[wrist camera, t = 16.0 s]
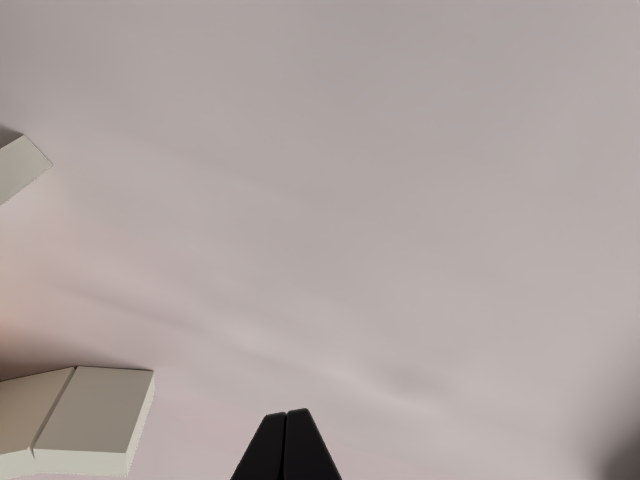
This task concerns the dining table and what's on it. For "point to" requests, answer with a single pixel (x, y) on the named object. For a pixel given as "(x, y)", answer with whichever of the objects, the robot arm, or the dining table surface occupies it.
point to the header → (66, 390)
